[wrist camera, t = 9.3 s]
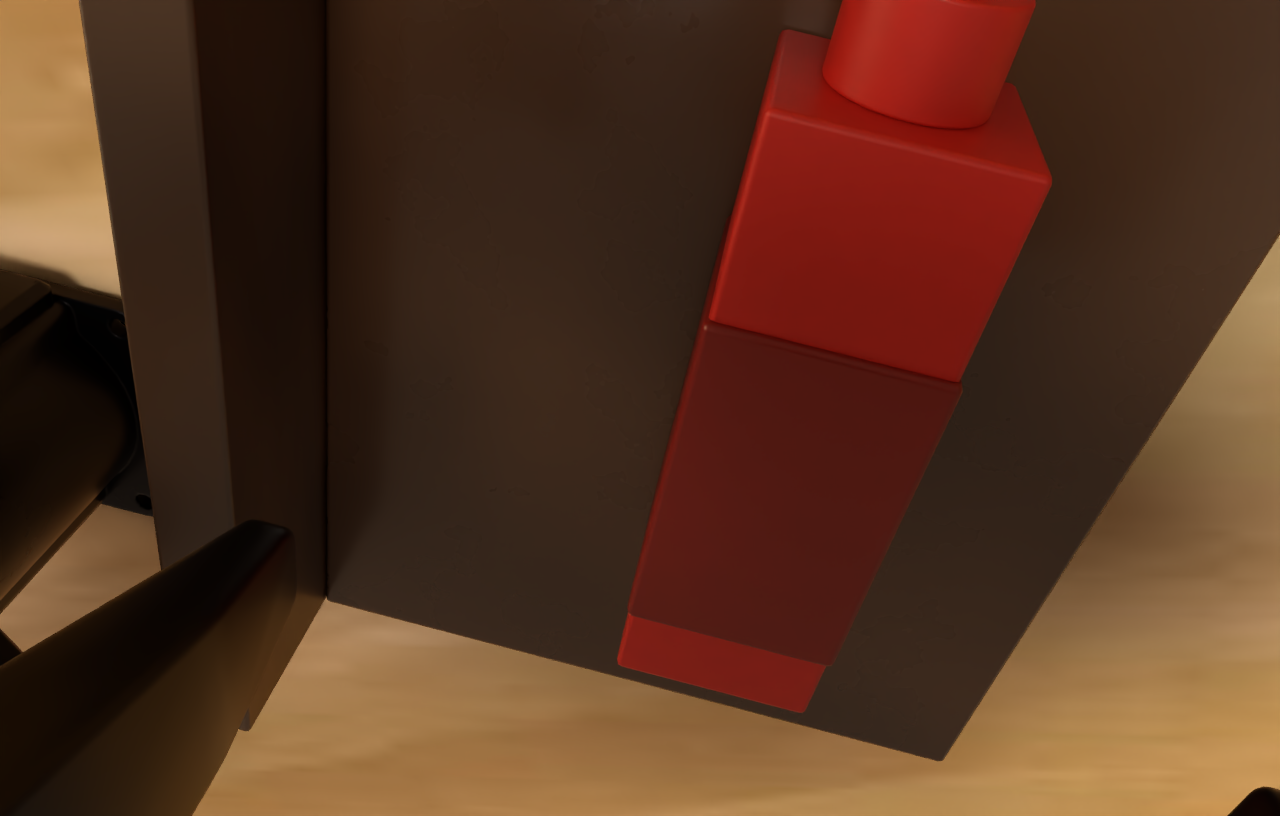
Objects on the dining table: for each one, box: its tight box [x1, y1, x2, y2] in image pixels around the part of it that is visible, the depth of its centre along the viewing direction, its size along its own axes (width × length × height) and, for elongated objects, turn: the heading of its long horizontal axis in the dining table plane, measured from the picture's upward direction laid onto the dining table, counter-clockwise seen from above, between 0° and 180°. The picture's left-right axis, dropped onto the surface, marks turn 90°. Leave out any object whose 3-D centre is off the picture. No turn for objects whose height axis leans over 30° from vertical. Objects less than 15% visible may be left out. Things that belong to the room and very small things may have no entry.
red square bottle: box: [617, 0, 1052, 713], centre depth 13 cm, size 10×3×3 cm, turn 169°
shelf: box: [79, 0, 1280, 761], centre depth 15 cm, size 16×13×9 cm
